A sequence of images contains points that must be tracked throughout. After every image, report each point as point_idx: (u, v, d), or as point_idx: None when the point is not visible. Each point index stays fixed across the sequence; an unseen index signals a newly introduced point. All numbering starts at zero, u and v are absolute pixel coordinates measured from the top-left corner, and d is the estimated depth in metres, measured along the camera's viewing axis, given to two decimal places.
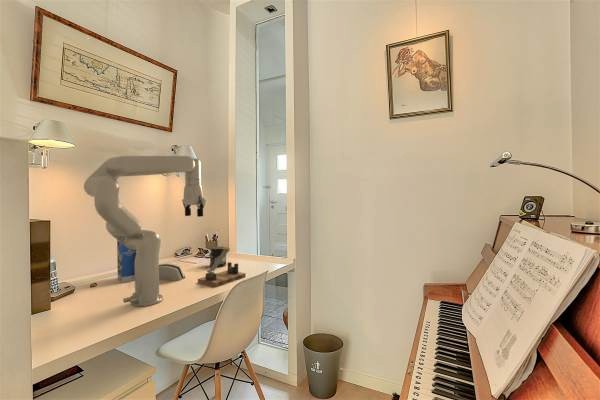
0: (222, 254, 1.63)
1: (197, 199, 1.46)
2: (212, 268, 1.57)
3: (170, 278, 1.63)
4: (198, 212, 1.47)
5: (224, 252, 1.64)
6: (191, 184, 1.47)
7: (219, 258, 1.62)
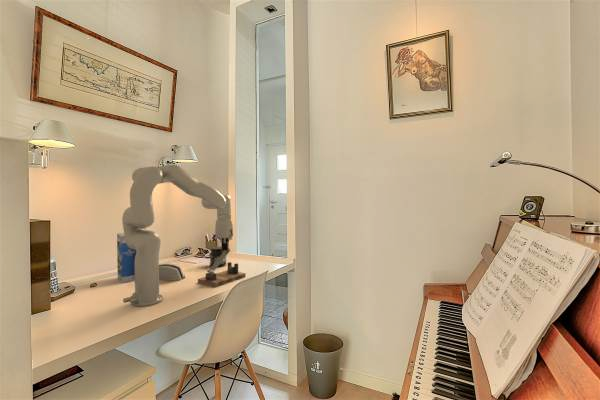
0: (223, 255, 1.64)
1: (228, 233, 1.60)
2: (212, 268, 1.57)
3: (170, 278, 1.63)
4: (224, 246, 1.63)
5: (225, 253, 1.65)
6: (223, 219, 1.60)
7: (219, 258, 1.62)
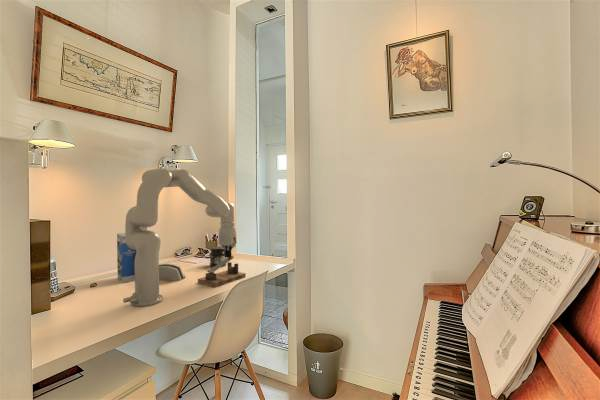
0: (225, 260, 1.66)
1: (232, 240, 1.63)
2: (213, 269, 1.58)
3: (170, 278, 1.63)
4: (227, 253, 1.65)
5: (228, 259, 1.67)
6: (226, 227, 1.63)
7: (222, 262, 1.63)
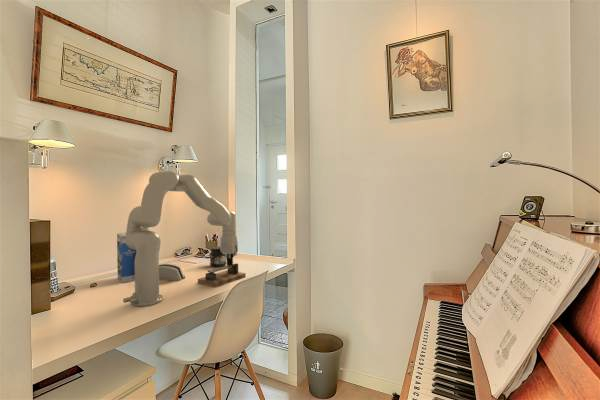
0: (226, 266, 1.66)
1: (233, 249, 1.64)
2: (213, 270, 1.58)
3: (170, 278, 1.63)
4: (229, 261, 1.66)
5: None
6: (228, 235, 1.64)
7: (223, 267, 1.64)
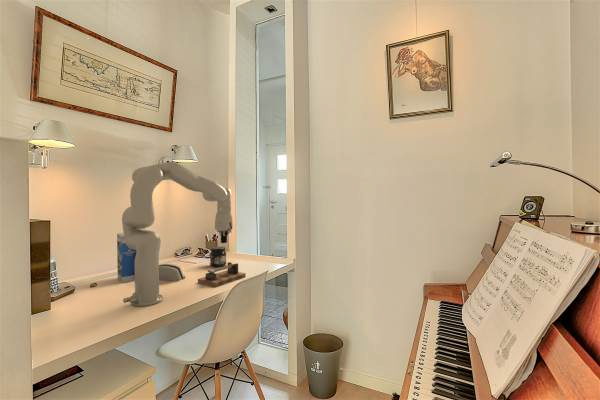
0: (226, 266, 1.66)
1: (228, 226, 1.62)
2: (213, 270, 1.58)
3: (170, 278, 1.63)
4: (223, 239, 1.64)
5: (229, 265, 1.67)
6: (223, 212, 1.62)
7: (223, 267, 1.64)
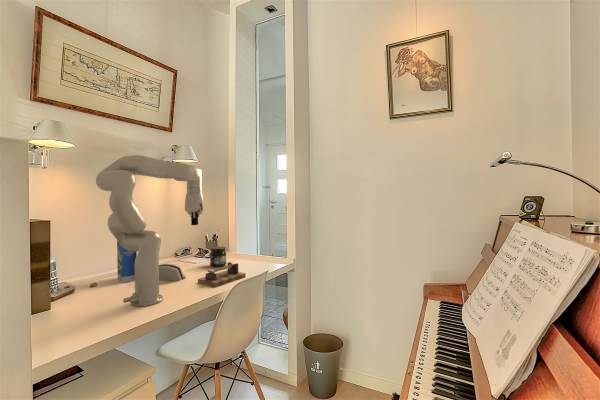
0: (226, 266, 1.66)
1: (198, 207, 1.54)
2: (213, 270, 1.58)
3: (170, 278, 1.63)
4: (193, 221, 1.57)
5: (229, 265, 1.67)
6: (192, 192, 1.54)
7: (223, 267, 1.64)
